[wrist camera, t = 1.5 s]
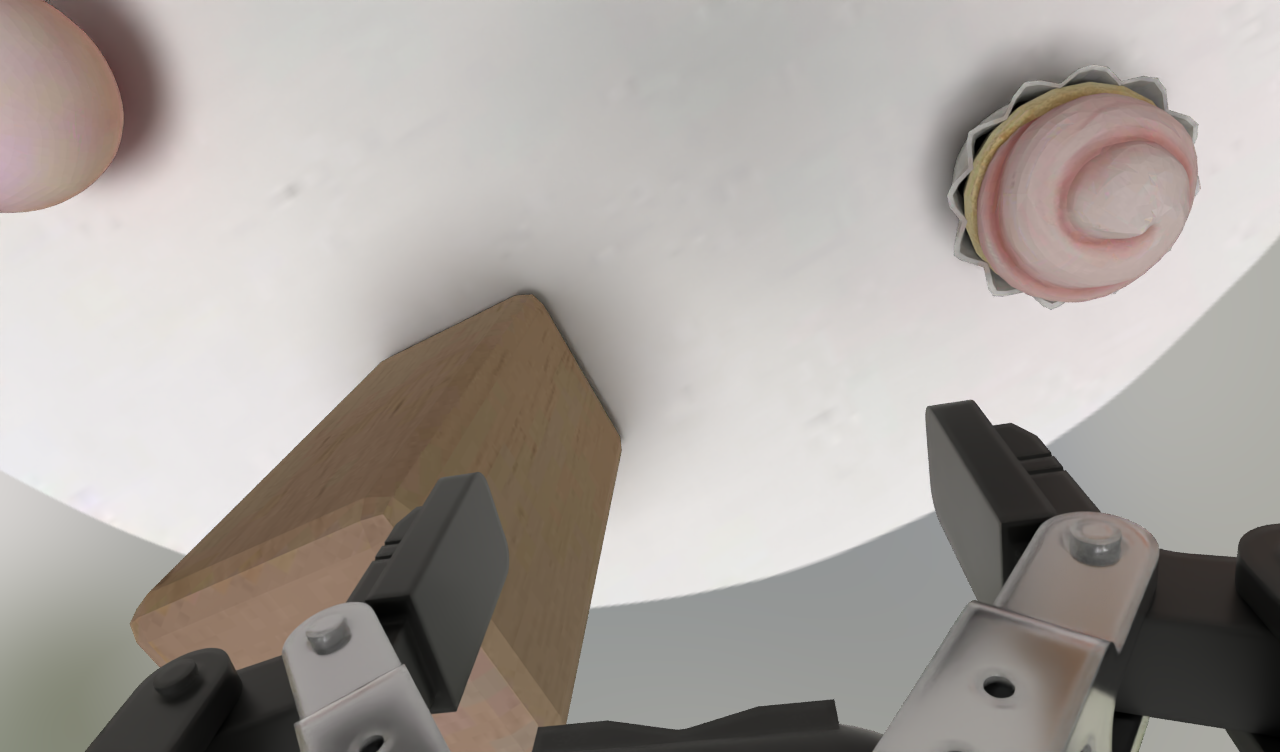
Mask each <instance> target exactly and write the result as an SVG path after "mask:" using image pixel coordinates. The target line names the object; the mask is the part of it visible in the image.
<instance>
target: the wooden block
mask: <svg viewBox="0 0 1280 752" xmlns="http://www.w3.org/2000/svg"><path fill="white" fill-rule="evenodd" d="M621 451H622V450H621V440H620V436H619V434H618V433H617V431H616V429H615V428H614V426H613V424H612V422H611V421H610V419H609V417H608V415H607V414H606V412H605V410H604V409H603V407H602V405H601V403H600V402H599V400H598V398H597V396H596V395H595V393H594V391H593V390H592V388H591V386H590V384H589V383H588V381H587V379H586V377H585V376H584V374H583V372H582V371H581V369H580V367H579V365H578V364H577V362H576V360H575V358H574V357H573V355H572V353H571V352H570V350H569V348H568V346H567V345H566V343H565V341H564V339H563V338H562V336H561V334H560V333H559V331H558V329H557V327H556V326H555V324H554V322H553V320H552V319H551V317H550V315H549V314H548V312H547V310H546V308H545V307H544V305H543V304H542V303H541V302H540V301H539V300H538V299H537V298H536V297H535V296H534V295H532V294H530V295H515V296H513V297H511V298H509V299H507V300H505V301H503V302H501V303H499V304H497V305H495V306H493V307H491V308H489V309H487V310H485V311H483V312H481V313H479V314H477V315H475V316H473V317H471V318H469V319H466V320H464V321H462V322H460V323H458V324H456V325H454V326H452V327H450V328H448V329H446V330H444V331H442V332H440V333H438V334H436V335H434V336H432V337H430V338H428V339H426V340H424V341H422V342H420V343H418V344H416V345H414V346H412V347H410V348H408V349H406V350H404V351H402V352H400V353H398V354H396V355H394V356H392V357H390V358H388V359H386V360H384V361H382V362H381V363H380V364H379V365H378V366H377V367H376V368H375V369H374V370H373V371H372V372H371V373H370V374H369V375H368V376H367V377H366V378H365V379H364V380H363V381H362V382H361V383H360V384H359V385H358V386H357V387H356V388H355V389H354V390H353V391H352V392H351V393H350V394H349V395H348V396H347V397H345V398H344V399H343V400H342V401H341V402H340V403H339V404H338V405H337V406H336V407H335V408H334V409H333V410H332V411H331V412H330V413H329V414H328V415H327V416H326V417H325V418H324V419H323V420H322V421H321V422H320V423H319V424H318V425H317V426H316V427H315V428H314V429H313V430H312V431H311V432H310V433H309V434H308V435H307V436H306V437H305V438H304V439H303V440H302V441H301V442H300V443H299V444H298V445H297V446H296V447H295V448H294V449H293V450H292V451H291V452H290V453H289V454H288V455H287V456H286V457H285V458H284V459H283V460H282V461H281V462H280V463H279V464H278V465H277V466H276V467H275V468H274V469H273V470H272V471H271V472H270V473H269V474H268V475H267V476H266V477H265V478H264V479H263V480H262V481H261V482H260V483H259V484H258V485H257V486H256V487H255V488H254V489H253V490H252V491H251V492H250V493H249V494H248V495H247V496H246V497H245V498H244V499H243V500H242V501H241V502H240V503H239V504H238V505H237V506H236V507H235V508H234V509H233V510H232V511H231V512H230V513H229V514H228V515H227V516H226V517H225V518H224V519H223V520H222V521H221V522H220V523H219V524H218V525H217V526H216V527H214V528H213V529H212V530H211V531H210V532H209V533H208V534H207V535H206V536H205V537H204V538H203V539H202V540H201V541H200V542H199V543H198V544H197V545H196V546H195V547H194V548H193V549H192V550H191V551H190V552H189V553H188V554H187V555H186V556H185V557H184V558H183V559H182V560H181V561H180V562H179V563H178V564H177V565H176V566H175V567H174V568H173V569H172V570H171V571H170V572H169V573H168V574H167V575H166V576H165V577H164V578H163V579H162V580H161V581H160V582H159V583H158V584H157V585H156V586H155V587H154V588H153V589H152V590H151V591H150V592H149V593H148V594H147V596H146V597H145V598H144V600H143V601H142V602H141V604H140V605H139V607H138V608H137V610H136V612H135V614H134V616H133V618H132V620H131V622H130V626H131V628H132V631H133V634H134V637H135V639H136V642H137V643H138V645H139V646H140V647H141V648H142V649H143V650H144V651H145V652H146V653H147V654H148V655H149V656H150V658H151V659H152V660H153V661H154V662H155V663H156V664H157V665H158V666H159V667H162V666H163V665H165V664H167V663H168V662H170V661H172V660H174V659H176V658H178V657H180V656H182V655H184V654H187V653H189V652H193V651H196V650H200V649H204V648H219V649H222V650H224V651H225V652H226V653H227V654H228V656H229V658H230V660H231V662H232V663H233V665H234V667H235V669H236V670H239V669H242V668H245V667H248V666H251V665H254V664H257V663H260V662H263V661H266V660H269V659H272V658H274V657H277V656H280V655H282V649H283V645H284V643H285V641H286V640H287V638H288V637H289V635H290V634H291V633H292V632H293V631H294V630H295V629H296V628H297V627H298V626H299V625H300V624H301V623H303V622H304V621H305V620H307V619H308V618H310V617H311V616H313V615H315V614H316V613H318V612H320V611H322V610H324V609H327V608H329V607H332V606H335V605H338V604H342V603H346V601H347V600H348V598H349V597H350V595H351V593H352V592H353V590H354V589H355V587H356V586H357V584H358V583H359V581H360V579H361V578H362V576H363V575H364V573H365V572H366V570H367V569H368V567H369V565H370V564H371V562H372V561H375V556H376V554H377V553H378V551H379V550H380V548H381V547H382V546H385V543H384V542H385V540H386V539H387V537H388V536H389V534H390V533H391V531H392V530H393V528H394V526H395V525H396V524H397V523H398V522H399V521H400V520H402V519H403V518H404V517H405V516H406V515H407V514H409V513H410V512H411V511H412V510H413V509H415V508H416V507H419V506H423V504H424V502H425V501H426V499H427V497H428V496H429V494H430V492H431V491H432V489H433V488H434V486H435V484H436V483H437V481H438V480H439V479H440V478H442V477H448V476H454V475H461V474H468V473H475V472H480V473H482V474H483V475H484V477H485V478H486V480H487V483H488V485H489V488H490V491H491V494H492V497H493V500H494V503H495V506H496V509H497V513H498V516H499V519H500V522H501V525H502V528H503V531H504V534H505V537H506V540H507V544H508V550H509V570H508V574H507V577H506V580H505V583H504V585H503V588H502V591H501V593H500V596H499V599H498V601H497V604H496V607H495V609H494V612H493V615H492V618H491V620H490V623H489V626H488V628H487V631H486V634H485V636H484V639H483V642H482V644H481V647H480V650H479V652H478V655H477V658H476V660H475V663H474V666H473V669H472V671H471V674H470V677H469V679H468V682H467V685H466V687H465V690H464V693H463V695H462V698H461V701H460V703H459V706H458V709H457V712H449V713H439V714H431V715H432V717H433V719H434V721H435V723H436V725H437V727H438V729H439V730H440V732H441V734H442V736H443V738H444V740H445V742H446V744H447V746H448V748H449V749H450V751H451V752H532V749H533V745H534V741H535V737H536V733H537V729H538V727H545V726H555V725H566V722H567V717H568V712H569V707H570V702H571V698H572V693H573V688H574V682H575V678H576V673H577V668H578V663H579V658H580V653H581V648H582V643H583V638H584V633H585V628H586V624H587V619H588V614H589V609H590V604H591V599H592V594H593V589H594V584H595V579H596V574H597V569H598V564H599V559H600V554H601V550H602V545H603V540H604V535H605V530H606V525H607V520H608V515H609V510H610V505H611V500H612V495H613V490H614V485H615V481H616V476H617V471H618V466H619V461H620V456H621Z"/></svg>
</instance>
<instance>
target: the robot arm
mask: <svg viewBox="0 0 1280 752" xmlns="http://www.w3.org/2000/svg"><path fill="white" fill-rule="evenodd" d="M925 419H926V433H927V447H928V460H929V473H930V485H931V493H932V498H933V503H934V507H935V511H936V514H937V517H938V520H939V522H940V524H941V526H942V528H943V530H944V532H945V534H946V536H947V539H948V540H949V542H950V545H951V546H952V549H953V551H954V553H955V555H956V557H957V559H958V561H959V563H960V565H961V567H962V569H963V572H964V574H965V576H966V578H967V580H968V582H969V584H970V586H971V588H972V590H973V592H974V594H975V596H976V598H977V600H978V601H976V600H973V601H971V602H969V603H968V604H967V605H966V606H965V608H964V609H963V611H962V612H961V614H960V615H959V617H958V618H957V620H956V621H955V623H954V625H953V626H952V628H951V629H950V631H949V632H948V634H947V636H946V637H945V639H944V640H943V642H942V643H941V645H940V647H939V648H938V650H937V651H936V653H935V655H934V656H933V657H932V659H931V661H930V663H929V664H928V665H927V667H926V668H925V670H924V672H923V673H922V675H921V676H920V678H919V680H918V681H917V683H916V684H915V686H914V687H913V689H912V690H911V692H910V694H909V695H908V697H907V698H906V700H905V701H904V703H903V705H902V706H901V708H900V709H899V711H898V712H897V714H896V716H895V717H894V719H893V720H892V722H891V723H890V725H889V727H888V728H887V730H886V731H885V733H884V734H880V733H878V732H875V731H871V730H867V729H863V728H858V727H855V726H849V725H842V724H839V722H838V717H837V711H836V707H835V701H834V699H833V700H823V701H812V702H801V703H790V704H780V705H769V706H758V707H755V708H752V709H749V710H746V711H742V712H739V713H736V714H732V715H729V716H726V717H723V718H720V719H716V720H713V721H710V722H707V723H703V724H700V725H697V726H694V727H691V728H687V729H681V730H675V729H666V728H659V727H651V726H644V725H636V724H629V723H621V722H614V721H599V722H587V723H577V724H566V725H555V726H545V727H538V729H537V733H536V737H535V741H534V745H533V749H532V752H1139V749H1140V746H1141V743H1142V740H1143V737H1144V734H1145V731H1146V728H1147V725H1148V722H1149V717H1154V718H1160V719H1167V720H1173V721H1180V722H1185V723H1192V724H1198V725H1204V726H1211V727H1217V728H1223V729H1226V731H1227V733H1228V734H1229V736H1230V738H1231V739H1232V741H1233V742H1234V744H1235V745H1236V747H1237V748H1238V750H1239V751H1240V752H1280V524H1271V525H1265V526H1261V527H1257V528H1255V529H1253V530H1250V531H1249V532H1247V533H1246V534H1245V535H1244V536H1243V537H1242V538H1241V539H1240V542H1239V545H1238V554H1237V557H1227V556H1213V555H1201V554H1188V553H1179V552H1172V551H1167V550H1163V549H1159V545H1158V543H1157V541H1156V539H1155V538H1154V537H1153V535H1152V534H1151V533H1149V532H1148V531H1147V530H1146V529H1145V528H1143V527H1142V526H1140V525H1138V524H1137V523H1134V522H1132V521H1130V520H1128V519H1125V518H1122V517H1119V516H1115V515H1111V514H1106V513H1101V512H1100V511H1099V509H1098V508H1097V507H1096V506H1095V504H1094V503H1093V502H1092V501H1091V500H1090V499H1089V497H1088V496H1087V495H1086V494H1085V493H1084V491H1083V490H1082V489H1081V488H1080V487H1079V485H1078V484H1077V483H1076V482H1075V481H1074V480H1073V478H1072V477H1071V476H1070V475H1069V474H1068V472H1067V471H1066V470H1065V471H1064V470H1063V467H1062V465H1061V464H1060V463H1059V462H1058V460H1057V459H1056V458H1055V457H1054V456H1052V455H1051V452H1050V451H1049V450H1048V448H1047V447H1046V446H1045V445H1044V444H1043V442H1042V441H1041V440H1040V439H1039V438H1038V436H1036V435H1034V434H1032V433H1030V432H1028V431H1026V430H1024V429H1022V428H1020V427H1018V426H1017V425H1015V424H1013V423H1007V424H1000V425H992V424H991V423H990V421H989V420H988V419H987V417H986V416H985V415H984V413H983V412H982V411H981V409H980V408H979V407H978V405H977V404H976V403H975V401H973V400H966V401H960V402H953V403H946V404H939V405H933V406H928V407H927V408H926V414H925ZM384 543H385V546H382V547H381V548H380V550H379V551H378V553H377V554H376V556H375V561H372V562H371V564H370V565H369V567H368V569H367V570H366V572H365V573H364V575H363V576H362V578H361V579H360V581H359V583H358V584H357V586H356V587H355V589H354V590H353V592H352V593H351V595H350V597H349V598H348V600H347V601H346V603H342V604H338V605H335V606H332V607H329V608H327V609H324V610H322V611H320V612H318V613H316V614H315V615H313V616H311V617H310V618H308V619H307V620H305V621H304V622H303V623H301V624H300V625H299V626H298V627H297V628H296V629H295V630H294V631H293V632H292V633H291V634H290V635H289V637H288V638H287V640H286V641H285V643H284V645H283V649H282V655H280V656H277V657H274V658H272V659H269V660H266V661H263V662H260V663H257V664H254V665H251V666H248V667H245V668H242V669H239V670H236V669H235V667H234V665H233V663H232V662H231V660H230V658H229V656H228V654H227V653H226V652H225V651H224V650H222V649H219V648H204V649H200V650H196V651H193V652H189V653H187V654H184V655H182V656H180V657H178V658H176V659H174V660H172V661H170V662H168V663H167V664H165V665H163V666H162V667H160V668H159V669H157V670H156V671H155V672H153V673H152V674H151V675H150V676H148V677H147V678H146V679H145V680H144V681H143V682H142V683H141V684H140V685H139V686H138V687H137V688H136V690H135V691H134V692H133V693H132V695H131V696H130V697H129V698H128V700H127V701H126V702H125V703H124V704H123V706H122V707H121V708H120V709H119V710H118V712H117V713H116V714H115V715H114V717H113V718H112V719H111V720H110V721H109V723H108V724H107V725H106V727H105V728H104V729H103V730H102V731H101V732H100V734H99V735H98V736H97V737H96V739H95V740H94V741H93V742H92V743H91V745H90V746H89V747H88V748H87V750H86V751H85V752H451V751H450V749H449V748H448V746H447V744H446V742H445V740H444V738H443V736H442V734H441V732H440V730H439V729H438V727H437V725H436V723H435V721H434V719H433V717H432V715H431V714H439V713H449V712H457V709H458V706H459V703H460V701H461V698H462V695H463V693H464V690H465V687H466V685H467V682H468V679H469V677H470V674H471V671H472V669H473V666H474V663H475V660H476V658H477V655H478V652H479V650H480V647H481V644H482V642H483V639H484V636H485V634H486V631H487V628H488V626H489V623H490V620H491V618H492V615H493V612H494V609H495V607H496V604H497V601H498V599H499V596H500V593H501V591H502V588H503V585H504V583H505V580H506V577H507V574H508V570H509V550H508V544H507V540H506V537H505V534H504V531H503V528H502V525H501V522H500V519H499V516H498V513H497V509H496V506H495V503H494V500H493V497H492V494H491V491H490V488H489V485H488V483H487V480H486V478H485V477H484V475H483V474H482V473H480V472H475V473H468V474H461V475H454V476H448V477H442V478H440V479H439V480H438V481H437V483H436V484H435V486H434V488H433V489H432V491H431V492H430V494H429V496H428V497H427V499H426V501H425V502H424V504H423V506H419V507H416V508H415V509H413V510H412V511H411V512H410V513H409V514H407V515H406V516H405V517H404V518H403V519H402V520H400V521H399V522H398V523H397V524H396V525H395V526H394V528H393V530H392V531H391V533H390V534H389V536H388V537H387V539H386V540H385V542H384Z"/></svg>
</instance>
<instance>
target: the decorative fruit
mask: <svg viewBox="0 0 1280 752" xmlns="http://www.w3.org/2000/svg"><path fill="white" fill-rule="evenodd" d="M123 123H124V112H123V105H122V100H121V96H120V92H119V89H118V86H117V83H116V80H115V78H114V76H113V73H112V71H111V69H110V67H109V65H108V63H107V62H106V60H105V58H104V56H103V55H102V53H101V52H100V50H99V49H98V48H97V46H96V45H95V43H94V42H93V41H92V40H91V39H90V38H89V36H88V35H87V34H86V33H85V32H84V31H83V30H82V29H80V28H79V27H78V26H77V25H76V24H75V23H74V22H73V21H71V20H70V19H69V18H68V17H67V16H65V15H64V14H63V13H61V12H60V11H59V10H57V9H56V8H54V7H53V6H51V5H50V4H48V3H46V2H45V1H43V0H0V213H16V212H29V211H35V210H41V209H45V208H48V207H51V206H54V205H57V204H60V203H62V202H64V201H66V200H68V199H70V198H72V197H74V196H76V195H77V194H79V193H81V192H82V191H84V190H85V189H87V188H88V187H89V186H90V185H91V184H93V183H94V182H95V181H96V180H97V179H98V178H99V177H100V176H101V175H102V174H103V173H104V171H105V170H106V169H107V168H108V166H109V165H110V164H111V162H112V160H113V159H114V157H115V155H116V153H117V150H118V148H119V145H120V141H121V137H122V131H123Z"/></svg>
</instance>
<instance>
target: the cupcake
mask: <svg viewBox="0 0 1280 752" xmlns="http://www.w3.org/2000/svg"><path fill="white" fill-rule="evenodd" d="M1197 135H1198V123H1196V122H1195V121H1194V120H1193V119H1192V118H1191V117H1189V116H1186V115H1183V114H1180V113H1177V112H1174V111H1171V110H1168V103H1167V95H1166V89H1165V88H1164V86H1163V85H1162V83H1161V82H1160V80H1159V79H1158V78H1154V77H1148V76H1141V77H1137V78H1132V79H1128V80H1124V81H1121V80H1120V79H1119V78H1118V77H1117V76H1116V75H1115V74H1114V73H1113V72H1112V71H1111V70H1110V69H1109V68H1108V67H1105V66H1099V65H1090V66H1086V67H1083V68H1079V69H1078V70H1077V71H1075V72H1074V73H1073V74H1072V75H1070V76H1069V77H1068V78H1067V79H1066V80H1064V81H1063V82H1062V83H1061V84H1059V83H1053V82H1047V81H1041V80H1036V81H1029V82H1024V83H1023V84H1022V86H1021V87H1020V88H1019V89H1018V91H1017V92H1016V93H1015V94H1014V96H1013V98H1012V100H1011V102H1010V104H1008V105H1006V106H1004V107H1002V108H1000V109H998V110H997V111H995V112H994V113H992V114H991V115H989V116H988V117H987V118H985V119H984V120H983V121H981V123H980V124H979V125H978V126H977V127H975V128H974V129H972V130H971V131H969V133H968V138H967V140H966V142H965V143H964V145H963V147H962V149H961V151H960V153H959V155H958V156H957V160H956V164H955V168H954V173H953V184H952V186H951V188H950V190H949V192H948V194H947V199H948V202H949V206H950V209H951V210H952V211H953V212H954V213H955V215H956V216H957V217H958V218H959V225H958V230H957V235H956V240H955V245H954V256H955V257H957V258H958V259H960V260H962V261H965V262H968V263H971V264H975V265H978V266H981V267H984V271H985V275H986V280H987V284H988V289H989V291H990V292H991V294H992V295H993V296H1000V297H1003V296H1008V295H1013V294H1018V293H1023V292H1024V293H1026V294H1027V295H1030V296H1032V297H1033V298H1035V299H1036V300H1037V301H1038V302H1039V303H1040V304H1041V305H1042V306H1044V307H1046V308H1048V309H1050V310H1052V309H1054V308H1057V307H1059V306H1061V305H1062V304H1064V303H1065V302H1084V301H1088V300H1092V299H1096V298H1100V297H1105V296H1107V295H1109V294H1115V293H1116V292H1117V291H1118V290H1119V289H1121V288H1123V287H1126V286H1127V285H1129V284H1130V283H1132V282H1133V281H1135V280H1136V279H1137V278H1139V277H1140V276H1142V275H1143V274H1145V273H1146V272H1147V271H1148V270H1149V269H1150V268H1151V267H1152V266H1154V265H1155V264H1156V263H1157V262H1158V261H1159V260H1161V258H1162V257H1163V256H1164V255H1165V254H1166V253H1167V252H1169V251H1170V250H1171V248H1172V246H1173V244H1174V243H1175V242H1176V240H1177V238H1178V237H1179V235H1180V233H1181V232H1182V230H1183V227H1184V225H1185V222H1186V220H1187V218H1188V215H1189V213H1190V211H1191V207H1192V204H1193V200H1194V198H1195V196H1196V195H1197V193H1198V192H1199V190H1200V189H1201V187H1200V181H1199V176H1198V167H1197V156H1196V152H1195V148H1194V143H1195V141H1196V139H1197Z"/></svg>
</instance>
